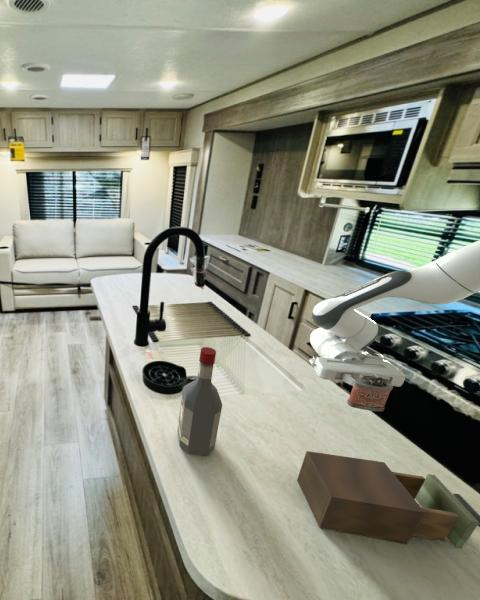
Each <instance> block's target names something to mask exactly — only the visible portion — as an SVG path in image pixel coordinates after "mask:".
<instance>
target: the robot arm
mask: <svg viewBox="0 0 480 600" xmlns="http://www.w3.org/2000/svg"><path fill="white" fill-rule="evenodd" d="M478 292H480V239H479V240H476V241H474V242H471V243H468V244H466V245H464V246H462V247H459V248H456V249H455V250H453V251H450V252H449V253H447V254H444V255H443V256H441V257H438V258H437V259H436V260H433V261H431V262H430V263H428V264H425V265H422V266H419V267H416V268H412V269H408V270H407V269H406V270H395V271H391V272H388V273H386V274H383V275H381V276H378V277H376V278H374V279H371V280H369V281H367V282H365V283H363V284H360V285H358V286H356V287H354V288H351V289H349V290H347V291H345V292H342V293H340V294H337V295H335V296H334V295H333V296H331V297H328V298H324V299H322V300H320V301H318V302H317V303H316V304H315V305H314V306H313V307H312V309H311V310H312V311H311V319H312V322H313V324H314V325H315V326H318V327H317V328H315V329H314V330H313V331H312V332H311V333H310V336H309V342H310V345H311V347H312V348H313V350H314V352H315V353H316V354H317V355H318V357H317V356H315V357H314V356H313V357H311V358H309V363H310V364H311V365H312V366H313V369H314V372H315V374H316V375H317V376H318V378H320V379H322V380H325V381H337V382H343V383H345V384H348V385H349V386H352V387H353V386H354V380H355V379H360V378H359V377H360V374H370V375H374V374H378V375H380V376H385V377H388V378H390V380H389V382H388V383H389V384H391V385H392V386H393V387H402V386H403V385H404V382H405V379H406V375H405V373H404V372H403V371H402V370H401V369H400V368H399V367H397V366H396V365H394V364H392V363H391V362H390V361H388V360H385V357H384V356H383V355H382V354H379V353H377V352H371V351H367V350H363V349H366V348H367V347H369V346H370V345H372V344H373V343H374V342H375V340H376V339H377V338H378V335H379V332H380V328H379V324H378V323H377V322H376V321H374V320H372V319H371V318H369V316H366V315H365V314H363V313H362V312H359V311H358V310H357V309H358V308H360V307H363V306H366V305H368V304H371V303H373V302H376V301H378V300H382V299H385V298H398V299H405V300H411V301H416V302H419V303H423V304H428V305H448V304H452V303H455V302H458V301H461V300H463V299H466V298H468V297H470V296H472V295H475V294H476V293H478Z"/></svg>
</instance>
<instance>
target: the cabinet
mask: <svg viewBox="0 0 480 600" xmlns="http://www.w3.org/2000/svg"><path fill="white" fill-rule="evenodd" d="M393 472H394V471H392V470H391V469H390V467H389V466H388V465H387V464H386V462H384V461H378V460H370V459H364V458H358V457H357V458H356V457H351V456H344V455H337V454H331V453H322V452H315V451H308V450H306V451H305V454H304V457H303V461H302V464H301V466H300V470H299V473H298V475H297V479H296V481H297V483H298V485H299V488H300V489H301V491H302V494H303V496H304V498H305V501H306V502H307V505H308V506H309V509H310V511H311V513H312V515H313V518H314V519H315V522H316V524H317V526H318V528H319V529H323V530H327V531H333V532H337V533H343V534H349V535H354V536H360V537H365V538H370V539H375V540H380V541H387V542H391V543H397V544H402V545H408V543H409V541H410V540H411V538H412V537H413V536H412V534H413V533H414V531H415V529H416V527H417V526H418V524H419V522H420V520H421V519H422V517H423V515H424V513H425V512H424V511H423V510H422V508H421V505H420V504H419V503H418V502H417V500H416V499H415V500H414V499H413V497H412V496H411V495H410V494H409V492H408V491H407V490H406V489H405V487H404V486H403V485H402V484H401V482H400V481H399V480H398V479H397V477H396V476H395V475H394V474H393Z"/></svg>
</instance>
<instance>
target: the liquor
mask: <svg viewBox="0 0 480 600" xmlns="http://www.w3.org/2000/svg"><path fill="white" fill-rule="evenodd" d="M216 356H217V350H216V349H215V348H213V347H209V346H203V347H201V348H200V353H199V360H198V361H199V364H198V371H197V376H196V378H195V379H194V380H193V381H191V382H189V383H187V384H186V385H184V386H183V388H182V390H181V398H180V407H179V415H178V425H177V438H178V445H179V447H180V448H181V449H182V450H183V451H184V452H185V453H187V454H190V455H199V456H204V457H205V456H206V457H207V456H208V455H210V454H211V453H212V452H213V451H215V447H216V443H217V436H218V431H219V425H220V421H221V415H222V409H223V402H222V399H221V396H220V394H219V390H218V389H217V387H216V386H215V385H214V384H213V383H212V377H213V372H214V365H215V362H216Z"/></svg>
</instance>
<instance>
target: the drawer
mask: <svg viewBox="0 0 480 600" xmlns="http://www.w3.org/2000/svg"><path fill="white" fill-rule="evenodd" d="M392 472H393V474H394V475H395V476H396V477H397V479H398V480H399V481H400V482H401V484H402V485H403V486H404V487H405V489H406V490H407V491H408V492H409V494H410V495H411V496H412V497H413V499H414V500H415V501H416V502H417V503H418V505H419V506H420V507H421V508H422V510H423V511H424V512H425V513H424V515H423V517H422V519H421V520H420V522H419V524H418V526H417V527H416V529H415V531H414V533H413V534H412V536H411V537H419V538H423V539H429V540H434V541H440V542H445V541H446V539H447V540H448V542H449V543H450V544H451V545H452V546H453V548H456V549H460V550H462V549H463V548H464V546H465V545H466V543H467V542H468V540H469V539H470V537H471V536H472V535H473V533H474V532H475V531H476V529H477V528H480V514H479V512H478V511H476V510H475V508H474V507H472V506H471V504H470V503H468V502H467V500H466V499H465V498H464V497H463V496H462V495H461V494H460V493H452V492H451V490H449V489H448V487H447V486H446V485H444V483H443V482H442V481H441V480H440V479H439V478H438V477H437V476H436V475H435V474H432V473H428V474H427V475H426V476H425V477H424V476H423V475H419V474H418V475H417V474H411V473H404V472H397V471H392Z"/></svg>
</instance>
